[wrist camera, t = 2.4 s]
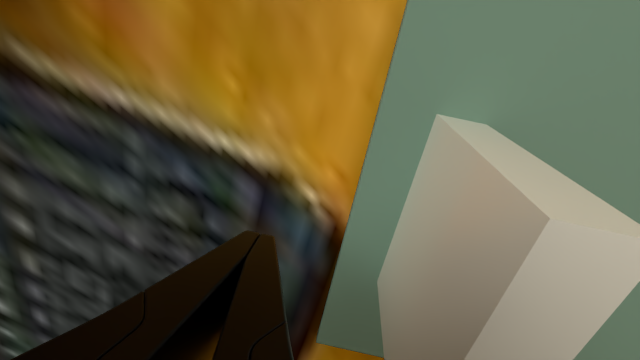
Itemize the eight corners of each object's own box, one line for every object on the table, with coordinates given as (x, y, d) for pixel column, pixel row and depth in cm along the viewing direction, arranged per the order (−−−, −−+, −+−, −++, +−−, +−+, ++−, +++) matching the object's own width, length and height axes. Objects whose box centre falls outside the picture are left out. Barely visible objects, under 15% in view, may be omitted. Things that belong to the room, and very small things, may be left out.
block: (419, 290, 14) (470, 491, 8) (377, 281, 14) (394, 474, 8) (492, 125, 11) (683, 247, 5) (436, 114, 11) (550, 219, 5)
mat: (605, 400, 17) (611, 408, 16) (317, 336, 17) (316, 342, 16) (968, 42, 9) (993, 42, 9) (425, -67, 9) (428, -72, 9)
